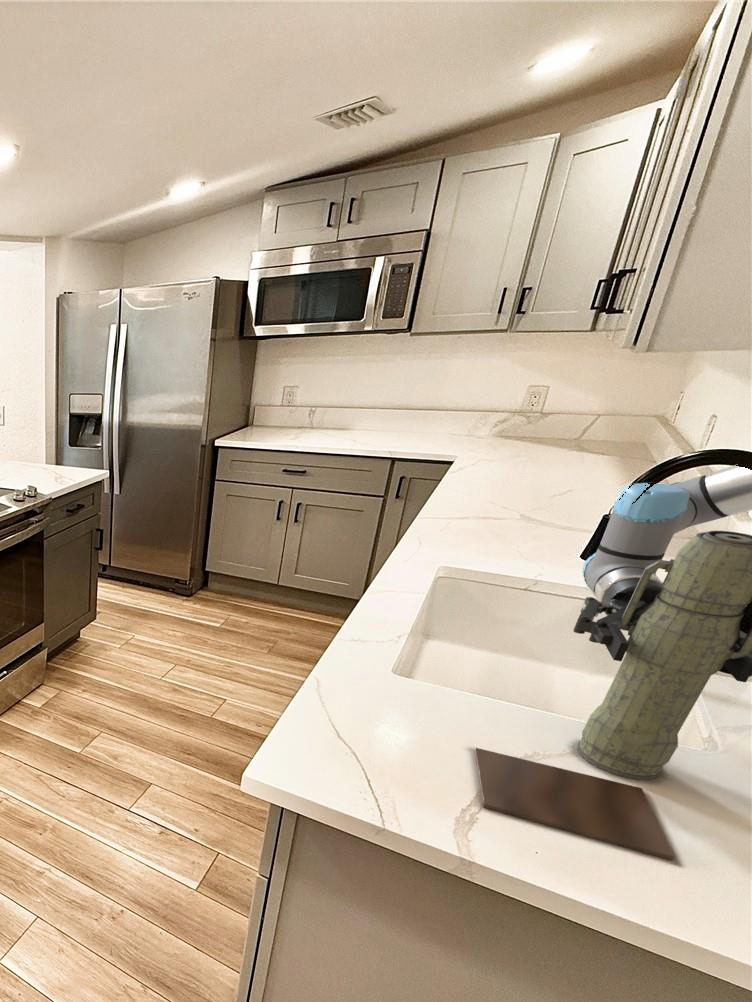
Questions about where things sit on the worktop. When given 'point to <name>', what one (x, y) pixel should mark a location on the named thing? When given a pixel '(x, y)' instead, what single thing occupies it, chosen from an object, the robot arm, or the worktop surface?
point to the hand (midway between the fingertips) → (681, 661)
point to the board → (570, 802)
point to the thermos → (672, 654)
